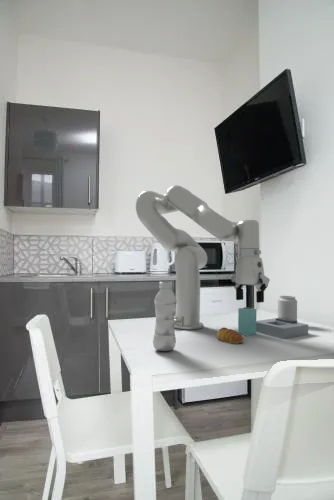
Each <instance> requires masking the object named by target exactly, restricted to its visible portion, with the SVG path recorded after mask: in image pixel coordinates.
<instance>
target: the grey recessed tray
mask: <svg viewBox="0 0 334 500" xmlns="http://www.w3.org/2000/svg"><path fill="white" fill-rule="evenodd" d="M256 333H259V334H264V335H267V336H271V337H276V338H279V339H284V340H286V339H290V338H291V339H292V338H296V337H301V336H305V335H306V336H307V335H309V324H306V323H303V322H298V319H297V320H292V319H286V318H278V317H274V318H268V319H260V320H256Z"/></svg>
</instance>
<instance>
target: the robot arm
mask: <svg viewBox="0 0 334 500" xmlns="http://www.w3.org/2000/svg"><path fill="white" fill-rule="evenodd" d="M135 211H136V215H137V217H138V218H137V219H139V221H140V222H141V224H142V225H143V226H144V227H145V228H146V229H147V231H148V232H150V234H151V235H152V236H153V237H154V238H155V239H156V241H158V243H159V244H160V245H161V247H163V248H164V250H166V251H170V252H175V256H174V267H175V268H174V269H175V278H176V279H175V296H176V299H177V303H176V309H175V318H174V329H178V330H179V329H180V330H200V329H203V328H204V322H201V320H200V319H201V318H200V317H201V316H200V315H201V276H200V269H203V268H204V267H205V266H206V265H207V263H208V255H207V252H206V251H205V249H204V248H203V247H202V246H201V245H200V244H199V243H198V242H197V241H196V240H195V239H194V238H193V237H192V236H191V235H190V234H189V233H188V232H186V231H185V230H183V229H181V228H176V227H175V226H173V225H172V224H171V223H170V222H169V221H168V220H167V218H165V217H164V216H163V214H164V215H165V214H169V213H175V212H181V213H182V214H184V215H185V216H186V217H188V218H189V219H191V220H192V221H193V223H196V224H197V225H198V226H199V227H201V228H202V229H203V230H205V231H206V232H208V233H209V234H210V235H211V236H214V237H215V238H216V239H218V240H221V241H226V242H235V241H237V248H238V249H237V253H238V257H237V260H236V265H235V266H236V267H235V274H234V275H232V276H231V277H230V281H231V282H232V285H233V286H234V289H235V299H236V301H240V300H244V289H243V287H244V286H254V287H255V288H256V289H257V290H256V296H255V297H256V303H258V304H260V303H264V302H265V291H266V289H267V288H268V286H269V284H270V283H269V282H270V278H269V277H268V276H266V275H265V269H264V263H263V259H262V257H260V255H261V254H262V250H260V224H259V223H260V222H259V221H258V220H255V219H244V220H239V221H236V222H235V221H231V220H229V219H227V218H225V217H224V216H222V215H221V214H219V213H218V212H217V211H215V210H213V208H211V207H209V205H208V204H207V202H206V201H204V200H203V199H202V198H199V197H198V196H196V195H195V194H193V193H192V192H191V191H190V190H189V189H188V188H185V187H183V186H181V185H177V184H176V185H172V186H170V187H169V188H168V189H167V191H166V194H161V193H158V192H155V191H153V190H144V191H142V192H141V193H139V195H138V196H137V199H136V202H135Z"/></svg>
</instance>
